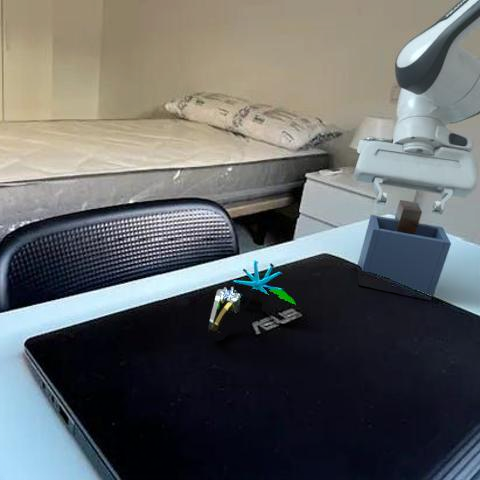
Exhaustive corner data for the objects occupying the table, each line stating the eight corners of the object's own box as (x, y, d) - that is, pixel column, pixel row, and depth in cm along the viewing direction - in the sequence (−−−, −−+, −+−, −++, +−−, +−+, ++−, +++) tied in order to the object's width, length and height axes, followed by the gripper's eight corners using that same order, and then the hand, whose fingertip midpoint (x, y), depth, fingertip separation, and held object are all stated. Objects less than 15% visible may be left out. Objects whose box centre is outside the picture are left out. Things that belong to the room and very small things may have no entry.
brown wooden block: (404, 248, 94) (417, 202, 90) (407, 259, 89) (422, 211, 85) (387, 244, 94) (400, 199, 91) (389, 255, 90) (403, 208, 86)
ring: (217, 355, 66) (225, 303, 63) (197, 345, 68) (204, 294, 65) (243, 334, 71) (252, 285, 68) (224, 325, 73) (232, 277, 70)
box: (424, 282, 92) (442, 227, 88) (431, 301, 85) (451, 243, 81) (356, 268, 96) (370, 214, 91) (357, 286, 89) (373, 229, 84)
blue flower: (222, 284, 80) (256, 249, 79) (239, 294, 86) (271, 261, 84) (271, 338, 73) (309, 300, 72) (287, 345, 78) (322, 310, 77)
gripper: (362, 125, 94) (351, 189, 89) (483, 141, 88) (478, 209, 84) (356, 144, 99) (345, 205, 95) (469, 160, 94) (464, 225, 89)
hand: (409, 207), depth 89 cm, fingers open, 8 cm apart
